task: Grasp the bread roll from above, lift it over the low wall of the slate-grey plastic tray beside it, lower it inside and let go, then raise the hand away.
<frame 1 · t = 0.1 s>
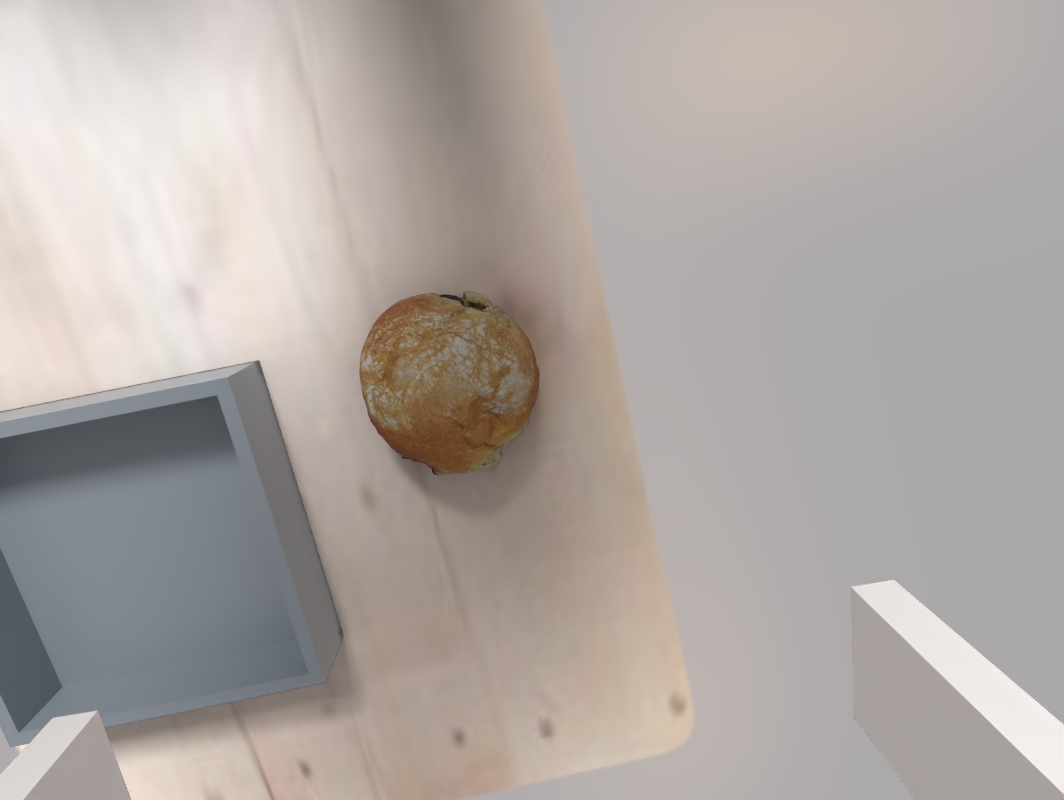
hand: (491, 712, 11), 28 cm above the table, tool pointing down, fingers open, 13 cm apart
bread roll: (453, 377, 38), on the table
grey tray: (154, 536, 39), on the table
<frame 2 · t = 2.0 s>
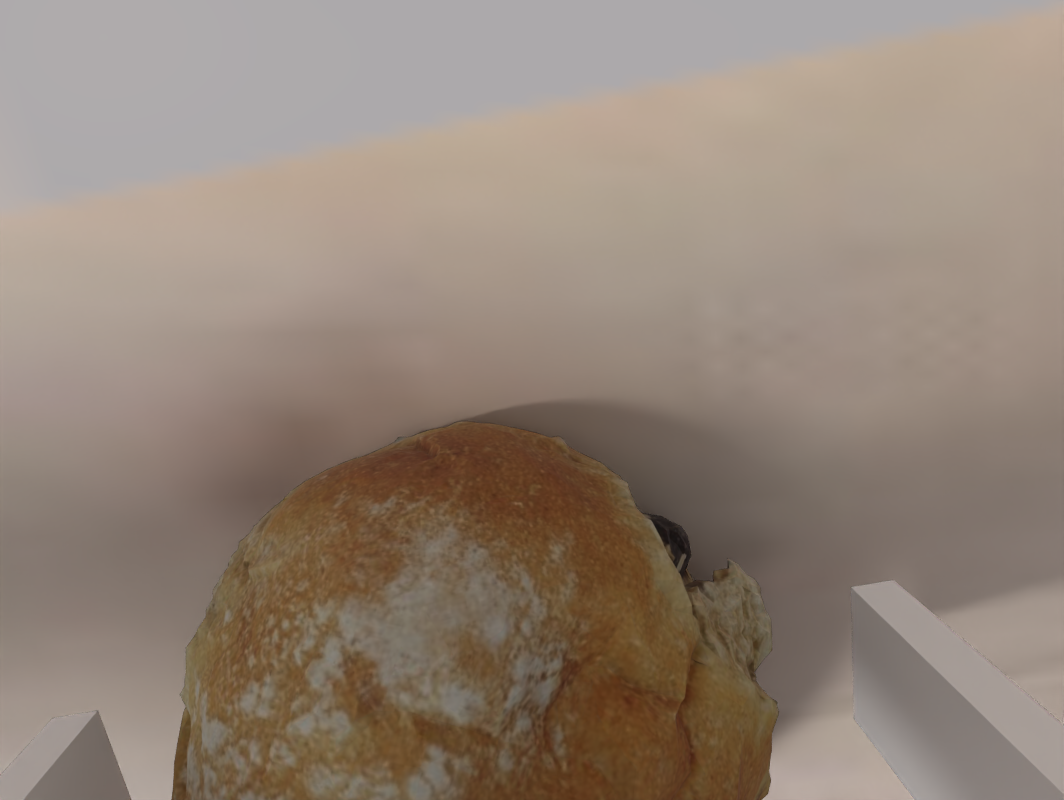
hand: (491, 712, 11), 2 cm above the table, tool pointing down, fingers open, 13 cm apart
bread roll: (483, 633, 13), on the table
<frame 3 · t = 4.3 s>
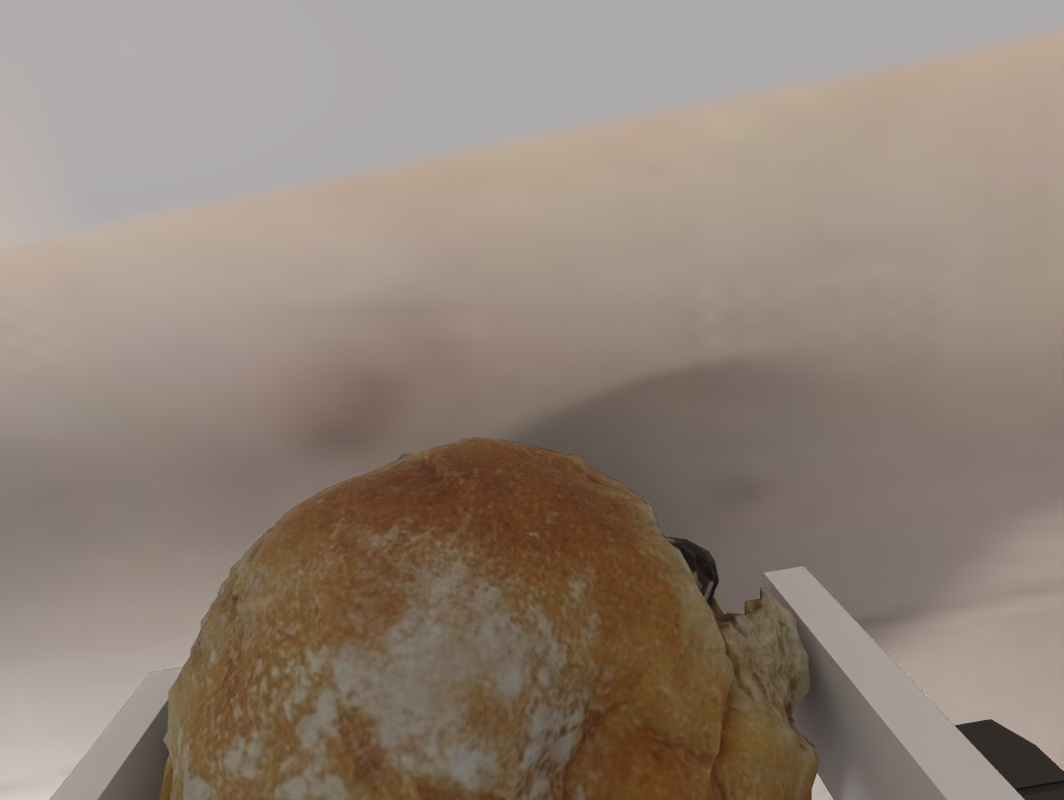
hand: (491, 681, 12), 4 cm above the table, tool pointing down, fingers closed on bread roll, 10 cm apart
bread roll: (493, 662, 13), point 3 cm above the table, touching gripper
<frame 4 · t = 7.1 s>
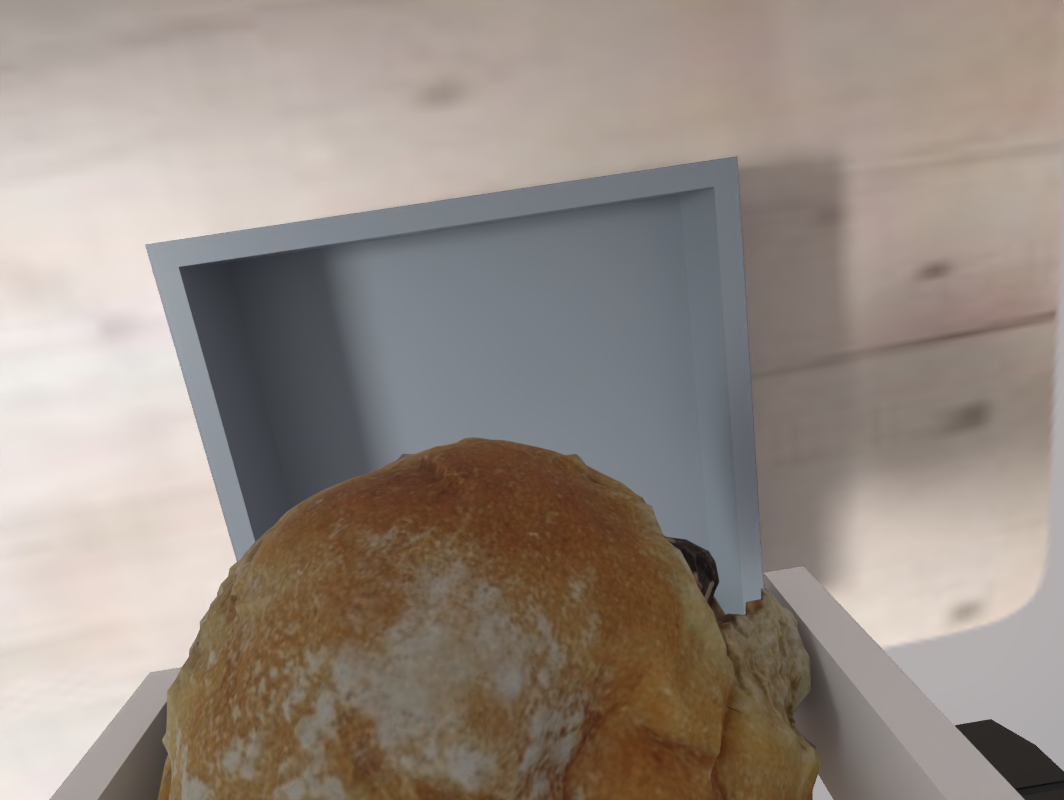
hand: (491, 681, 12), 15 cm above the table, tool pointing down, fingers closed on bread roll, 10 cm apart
bread roll: (493, 662, 13), point 15 cm above the table, touching gripper
grey tray: (492, 438, 27), on the table
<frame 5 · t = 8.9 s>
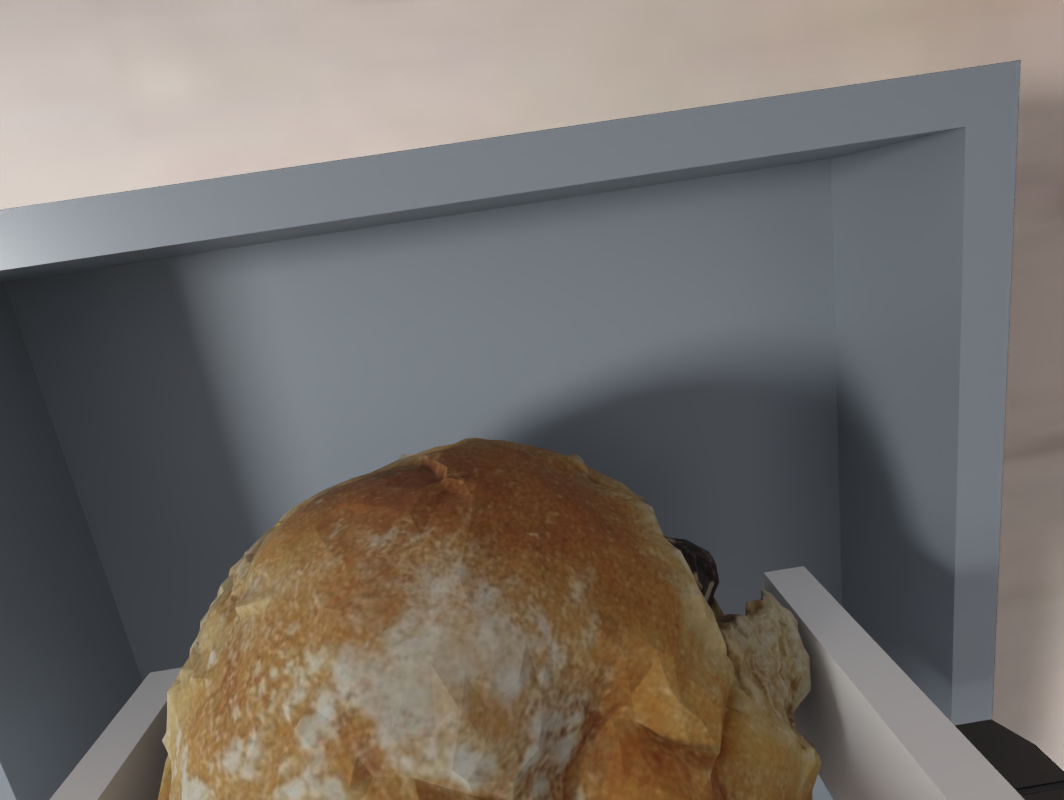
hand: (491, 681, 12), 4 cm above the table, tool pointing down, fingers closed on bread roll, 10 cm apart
bread roll: (493, 662, 13), point 3 cm above the table, touching gripper
grey tray: (490, 574, 16), on the table
when the fingers open (3 cm above the table, at t = 10.2 s): bread roll drops 2 cm, resting on grey tray.
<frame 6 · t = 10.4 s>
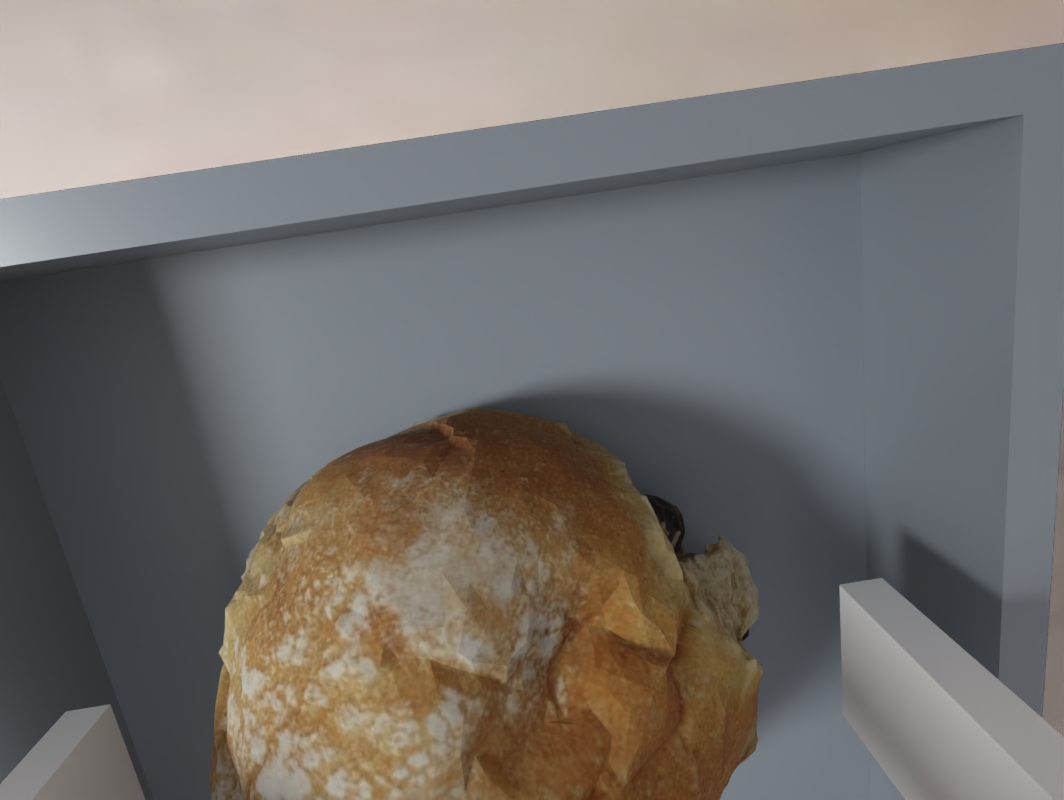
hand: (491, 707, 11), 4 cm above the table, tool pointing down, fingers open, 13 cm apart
bread roll: (492, 607, 14), resting on grey tray
grey tray: (492, 597, 15), on the table
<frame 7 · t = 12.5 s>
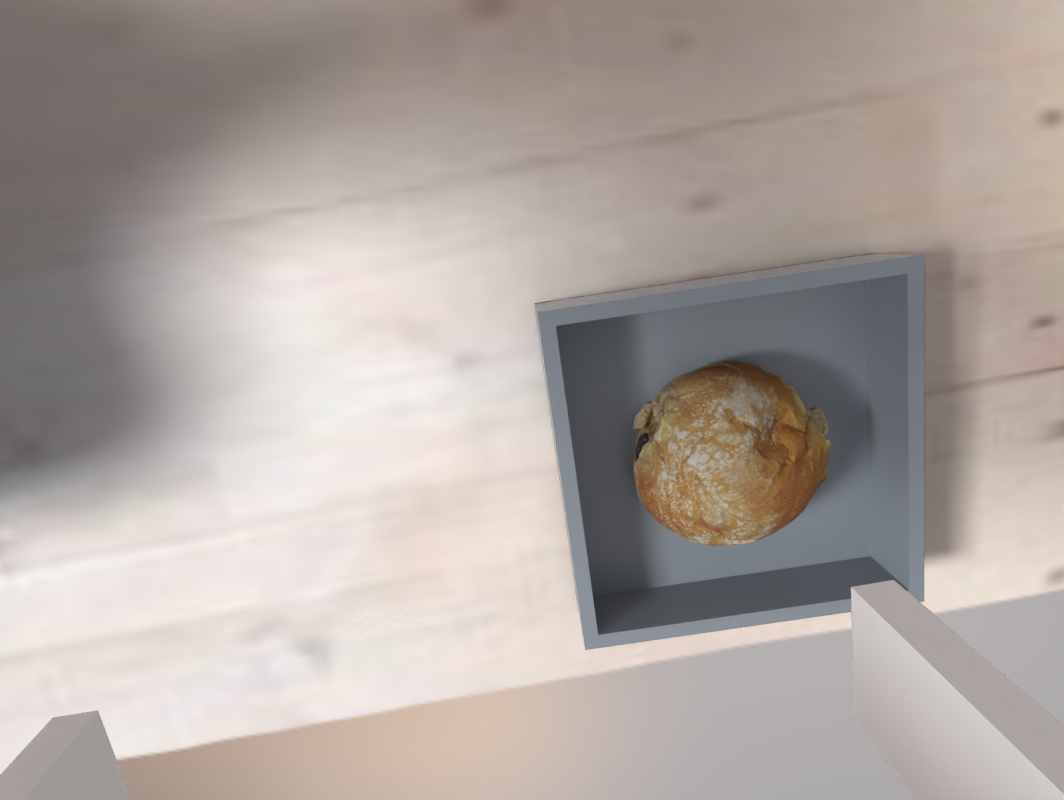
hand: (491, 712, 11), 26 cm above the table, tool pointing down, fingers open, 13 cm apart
bread roll: (719, 441, 37), resting on grey tray
grey tray: (716, 439, 37), on the table
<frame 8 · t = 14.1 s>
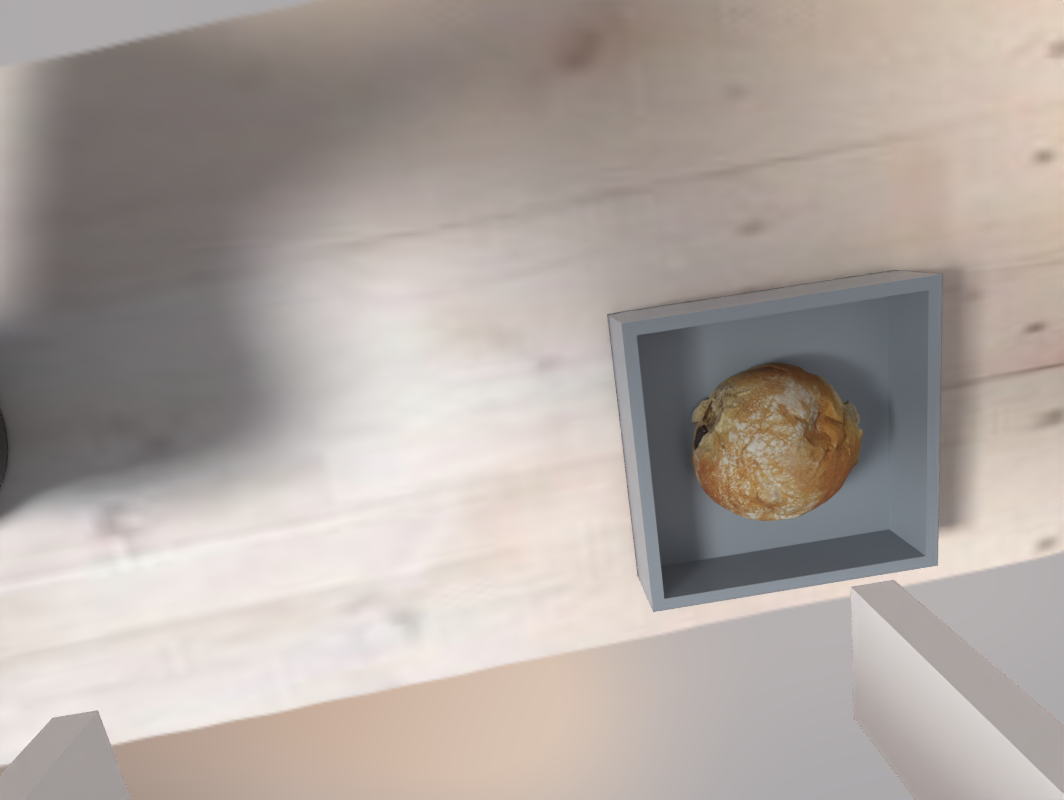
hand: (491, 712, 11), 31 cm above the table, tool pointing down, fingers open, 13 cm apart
bread roll: (763, 432, 43), resting on grey tray
grey tray: (759, 430, 43), on the table
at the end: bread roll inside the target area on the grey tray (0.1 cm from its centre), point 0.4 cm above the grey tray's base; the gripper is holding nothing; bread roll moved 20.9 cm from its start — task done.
